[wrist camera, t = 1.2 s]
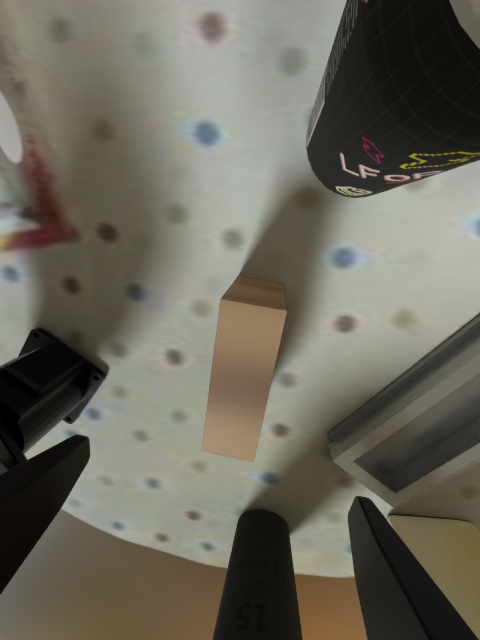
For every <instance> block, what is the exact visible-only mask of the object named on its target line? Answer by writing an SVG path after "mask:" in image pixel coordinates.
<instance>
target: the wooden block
mask: <svg viewBox="0 0 480 640" xmlns="http://www.w3.org/2000/svg"><path fill="white" fill-rule="evenodd" d="M286 314H287V307H286V299H285V291H284V284H281V283H275V282H270V281H264V280H258V279H252V278H246V277H240V276H238V277H237V278H236V280H235V281H234V282H233V284H232V285H231V286H230V287H229V289H228V290H227V291H226V293H225V294H224V295H223V297H222V298H221V299H220V307H219V315H218V323H217V331H216V339H215V347H214V355H213V363H212V371H211V379H210V387H209V395H208V403H207V411H206V419H205V427H204V435H203V443H202V451H205V452H209V453H214V454H218V455H223V456H227V457H232V458H236V459H241V460H245V461H250V462H254V459H255V454H256V450H257V445H258V441H259V436H260V432H261V427H262V423H263V418H264V413H265V409H266V404H267V400H268V395H269V391H270V386H271V382H272V377H273V373H274V368H275V364H276V359H277V354H278V350H279V345H280V341H281V336H282V332H283V327H284V323H285V318H286Z"/></svg>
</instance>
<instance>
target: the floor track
mask: <svg viewBox="0 0 480 640" xmlns="http://www.w3.org/2000/svg"><path fill="white" fill-rule="evenodd" d="M328 438H329V439H331V440H332V441H333V442H332V443H330V444H329V445H328V446H329V450H330V454H331V458H332V461H333V462H334V463H335V464H337V465H338V466H339V467H341V468H342V469H343V470H345V471H346V472H347V473H349V474H350V475H351V476H353V477H354V478H355V479H356V480H358V481H359V482H360V483H362V484H363V485H364V486H366V487H367V488H368V489H370V490H371V491H372V492H374V493H375V494H376V495H378V496H379V497H380V498H382V499H383V500H384V501H386V502H387V503H388V504H389V505H391V506H392V507H393V508H394V507H396V506H398V505H400V504H401V503H403V502H405V501H406V500H408V499H410V498H412V497H413V496H415V495H417V494H418V493H420V492H422V491H424V490H425V489H427V488H429V487H430V486H432V485H434V484H436V483H437V482H439V481H441V480H442V479H444V478H446V477H448V476H449V475H451V474H453V473H454V472H456V471H458V470H460V469H461V468H463V467H465V466H466V465H468V464H470V463H472V462H473V461H475V460H477V459H478V458H480V315H479V316H477V317H476V318H475V319H474V320H472V321H471V322H470V323H468V324H467V325H466V326H465V327H463V328H462V329H461V330H459V331H458V332H457V333H456V334H454V335H453V336H452V337H450V338H449V339H448V340H447V341H445V342H444V343H443V344H442V345H440V346H439V347H438V348H436V349H435V350H434V351H433V352H431V353H430V354H429V355H427V356H426V357H425V358H424V359H422V360H421V361H420V362H418V363H417V364H416V365H415V366H413V367H412V368H411V369H410V370H408V371H407V372H406V373H404V374H403V375H402V376H401V377H399V378H398V379H397V380H395V381H394V382H393V383H392V384H390V385H389V386H388V387H386V388H385V389H384V390H383V391H381V392H380V393H379V394H378V395H376V396H375V397H374V398H372V399H371V400H370V401H369V402H367V403H366V404H365V405H363V406H362V407H361V408H360V409H358V410H357V411H356V412H354V413H353V414H352V415H351V416H349V417H348V418H347V419H346V420H344V421H343V422H342V423H340V424H339V425H338V426H337V427H335V428H334V429H333V430H331V431H330V432H329V433H328Z"/></svg>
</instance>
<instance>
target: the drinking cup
mask: <svg viewBox="0 0 480 640" xmlns="http://www.w3.org/2000/svg"><path fill="white" fill-rule="evenodd" d="M213 640H302V632H301V624H300V616H299V608H298V600H297V592H296V584H295V576H294V569H293V561H292V553H291V545H290V537H289V529H288V526H287V524H286V522H285V521H284V520H283V519H282V518H281V517H280V516H278V515H277V514H275V513H272V512H270V511H265V510H252V511H249V512H246V513H244V514H243V515H242V516H241V517H240V518H239V520H238V523H237V528H236V532H235V537H234V542H233V546H232V551H231V556H230V560H229V565H228V570H227V574H226V579H225V584H224V589H223V593H222V598H221V602H220V607H219V612H218V616H217V621H216V626H215V630H214V635H213Z"/></svg>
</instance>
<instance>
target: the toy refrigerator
mask: <svg viewBox="0 0 480 640" xmlns="http://www.w3.org/2000/svg"><path fill="white" fill-rule="evenodd" d="M387 521H388V522H389V524H390V525H391V526H392V528H393V529H394V530H395V531H396V533H397V534H398V535H399V537H400V538H401V539H402V540H403V542H404V543H405V544H406V546H407V547H408V548H409V549H410V551H411V552H412V553H413V555H414V556H415V557H416V559H417V560H418V561H419V562H420V564H421V565H422V566H423V568H424V569H425V570H426V571H427V573H428V574H429V575H430V577H431V578H432V579H433V580H434V582H435V583H436V584H437V586H438V587H439V588H440V590H441V591H442V592H443V593H444V595H445V596H446V597H447V599H448V600H449V601H450V602H451V604H452V605H453V606H454V608H455V609H456V610H457V611H458V613H459V614H460V615H461V617H462V618H463V619H464V621H465V622H466V623H467V624H468V626H469V627H470V628H471V630H472V631H473V632H474V633H475V635H476V636H477V637H478V639H479V640H480V532H479V530H478V529H477V527H476V526H475V525H474V524H473V523H470V522H466V521H459V520H450V519H437V518H425V517H413V516H397V515H389V516H388V518H387Z"/></svg>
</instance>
